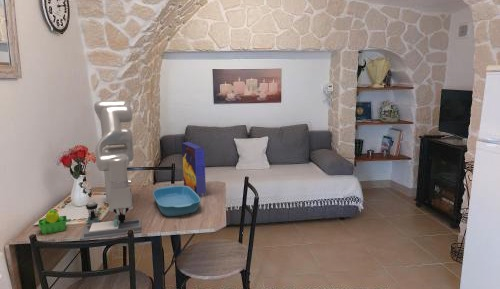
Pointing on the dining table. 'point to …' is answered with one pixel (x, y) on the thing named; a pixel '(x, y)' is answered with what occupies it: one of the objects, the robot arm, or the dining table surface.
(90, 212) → the push button
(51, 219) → the fruit basket
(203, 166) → the cereal box
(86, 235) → the dock
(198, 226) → the dining table surface
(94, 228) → the shutter lid
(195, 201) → the casserole dish
